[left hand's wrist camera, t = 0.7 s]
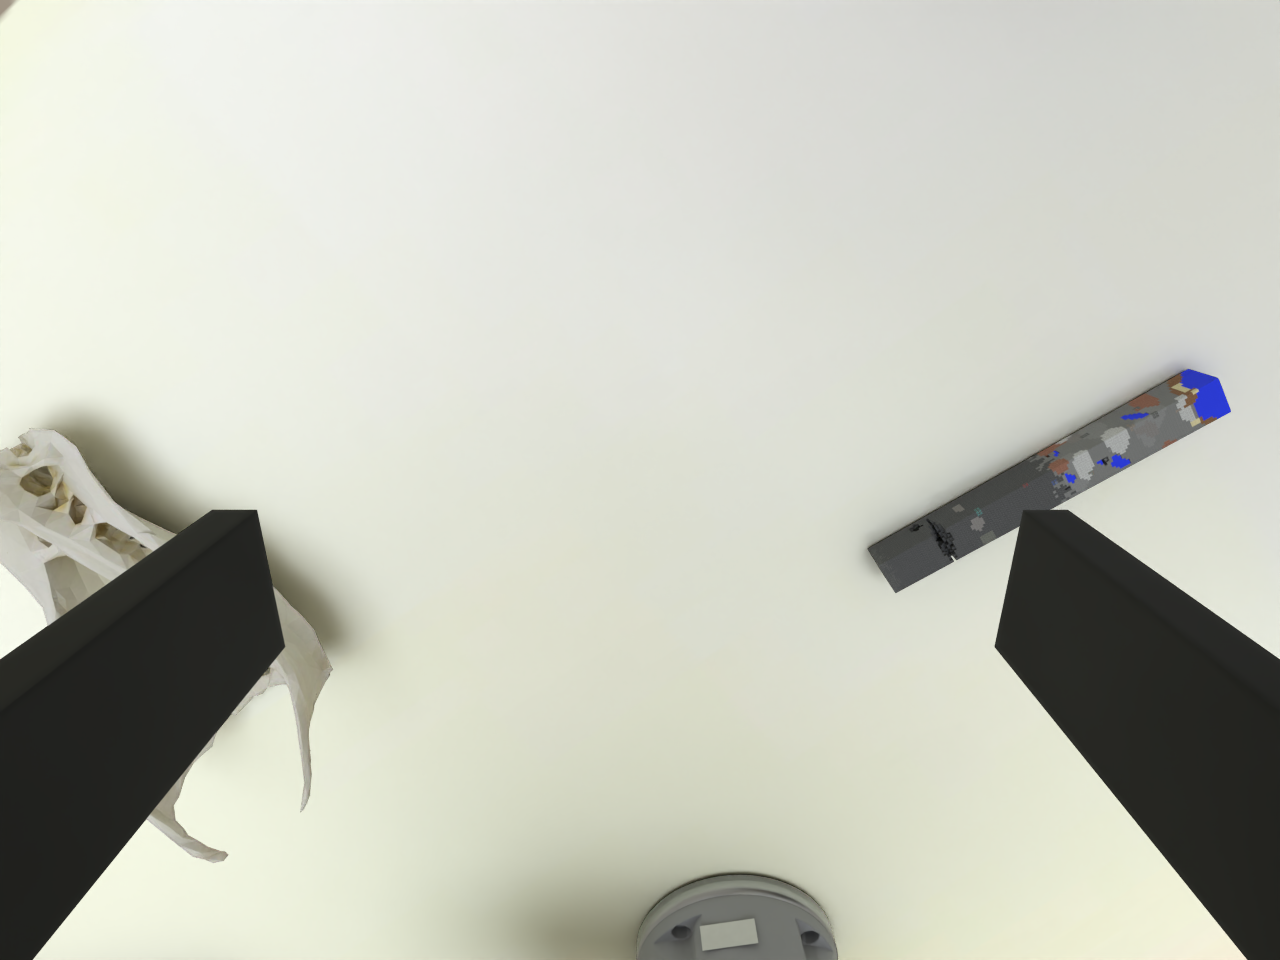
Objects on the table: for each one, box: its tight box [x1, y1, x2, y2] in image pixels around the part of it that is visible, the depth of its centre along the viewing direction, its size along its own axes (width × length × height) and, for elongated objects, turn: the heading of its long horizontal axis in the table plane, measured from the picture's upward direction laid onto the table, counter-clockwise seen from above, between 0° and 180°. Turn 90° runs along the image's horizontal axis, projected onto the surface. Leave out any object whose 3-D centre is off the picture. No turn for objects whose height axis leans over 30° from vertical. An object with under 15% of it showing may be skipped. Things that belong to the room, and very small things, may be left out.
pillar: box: [868, 369, 1231, 593], centre depth 40 cm, size 2×2×20 cm
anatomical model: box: [0, 428, 333, 863], centre depth 40 cm, size 15×9×25 cm
